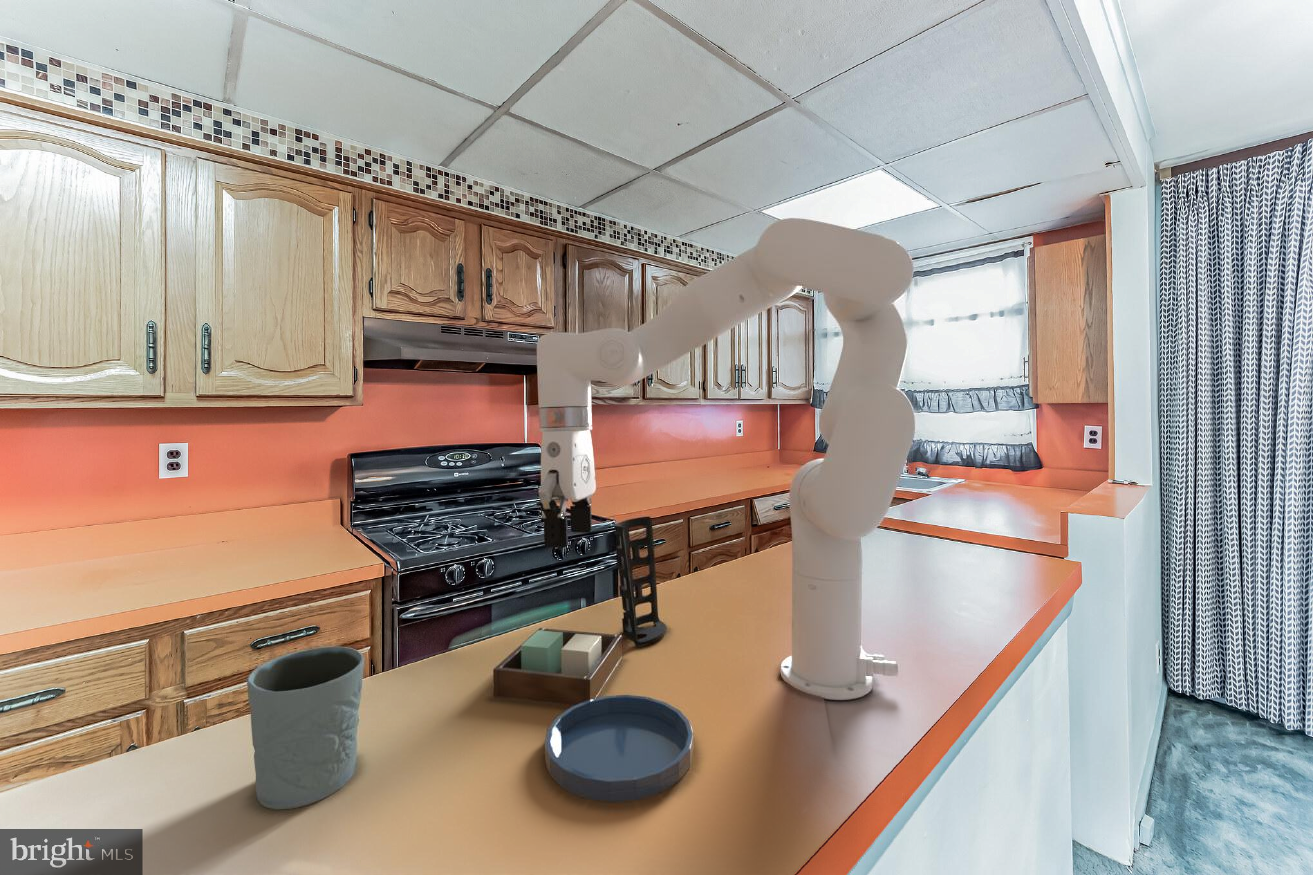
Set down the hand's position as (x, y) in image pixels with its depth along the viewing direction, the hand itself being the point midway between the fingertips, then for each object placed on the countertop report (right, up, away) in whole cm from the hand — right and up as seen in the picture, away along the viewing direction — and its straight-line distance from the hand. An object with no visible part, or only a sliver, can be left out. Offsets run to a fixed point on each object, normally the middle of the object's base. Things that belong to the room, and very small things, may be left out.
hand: (569, 538), depth 78 cm
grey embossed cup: (-23, -21, -22) cm, 38 cm away
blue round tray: (+9, -21, -18) cm, 29 cm away
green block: (-4, -19, 0) cm, 20 cm away
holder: (+10, -20, +16) cm, 27 cm away
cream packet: (+2, -20, -1) cm, 20 cm away
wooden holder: (-1, -20, 0) cm, 20 cm away
